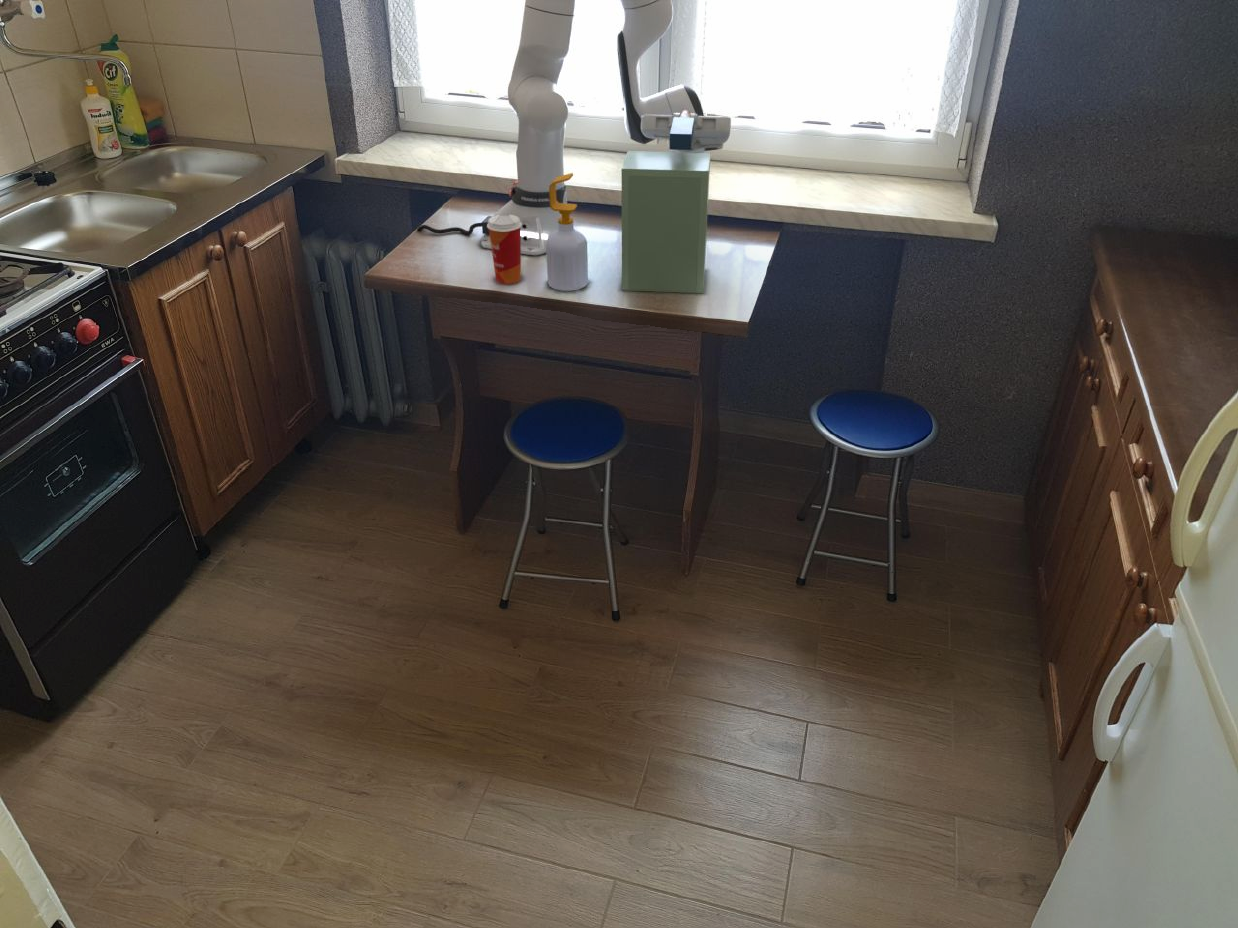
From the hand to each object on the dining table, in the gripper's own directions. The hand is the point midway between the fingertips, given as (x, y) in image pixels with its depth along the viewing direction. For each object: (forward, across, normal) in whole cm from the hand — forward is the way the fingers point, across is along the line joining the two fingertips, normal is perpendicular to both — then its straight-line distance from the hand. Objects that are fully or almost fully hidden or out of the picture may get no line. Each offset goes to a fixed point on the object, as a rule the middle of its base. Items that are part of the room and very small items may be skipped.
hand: (685, 117), depth 209 cm
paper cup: (-3, -38, +36) cm, 53 cm away
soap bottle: (-2, -24, +37) cm, 44 cm away
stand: (-5, -3, +35) cm, 35 cm away
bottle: (+5, 0, +6) cm, 8 cm away
